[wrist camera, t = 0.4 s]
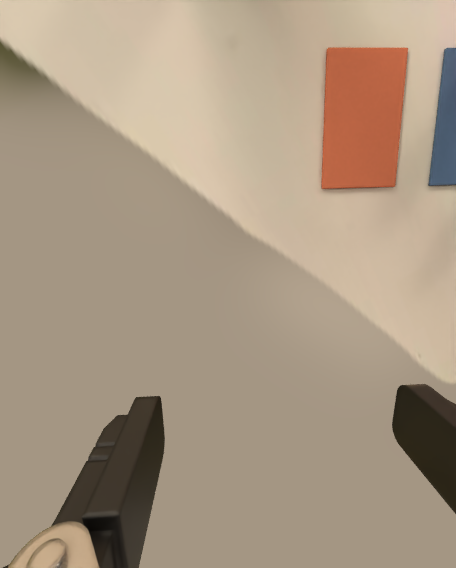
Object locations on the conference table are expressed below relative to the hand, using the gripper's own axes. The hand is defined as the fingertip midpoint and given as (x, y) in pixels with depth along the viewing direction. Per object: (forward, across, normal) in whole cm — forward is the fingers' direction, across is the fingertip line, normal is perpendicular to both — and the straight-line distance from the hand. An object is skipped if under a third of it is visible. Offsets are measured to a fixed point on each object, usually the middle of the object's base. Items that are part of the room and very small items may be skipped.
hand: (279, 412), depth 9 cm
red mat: (+30, -17, -18) cm, 39 cm away
